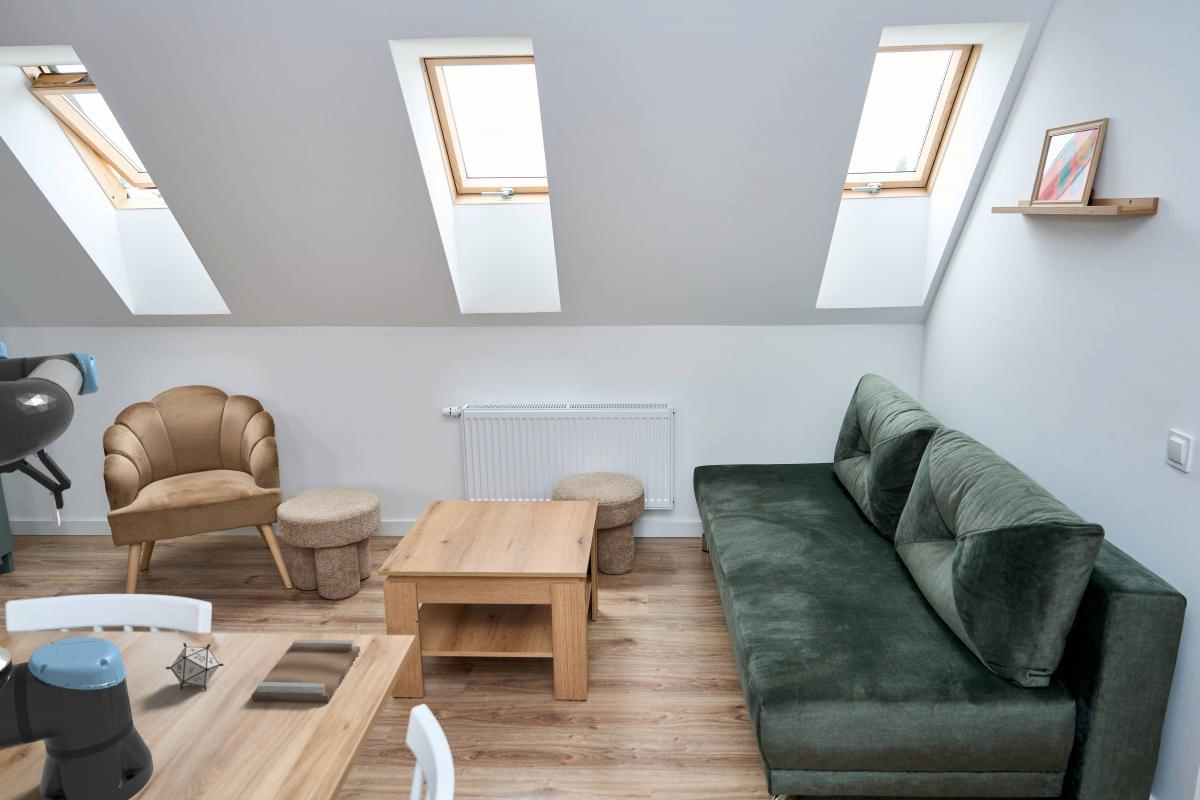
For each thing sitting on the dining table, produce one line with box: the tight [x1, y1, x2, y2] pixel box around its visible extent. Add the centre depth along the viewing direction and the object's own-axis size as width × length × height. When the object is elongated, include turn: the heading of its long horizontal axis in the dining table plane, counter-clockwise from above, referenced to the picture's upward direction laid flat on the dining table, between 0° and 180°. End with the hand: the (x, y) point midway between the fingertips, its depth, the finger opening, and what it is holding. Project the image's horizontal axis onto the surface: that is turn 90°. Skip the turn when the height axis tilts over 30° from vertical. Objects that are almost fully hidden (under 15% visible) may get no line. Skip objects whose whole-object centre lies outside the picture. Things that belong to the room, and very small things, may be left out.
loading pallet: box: [251, 639, 361, 704], centre depth 160 cm, size 17×14×3 cm
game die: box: [165, 642, 225, 691], centre depth 157 cm, size 9×8×10 cm
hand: (15, 532), depth 161 cm, fingers open, 13 cm apart
